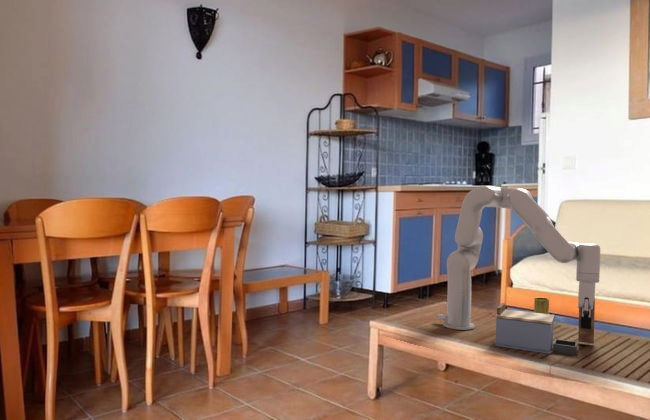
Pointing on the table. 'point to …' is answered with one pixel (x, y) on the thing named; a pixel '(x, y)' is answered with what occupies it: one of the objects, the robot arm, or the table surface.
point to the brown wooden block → (583, 333)
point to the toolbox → (524, 335)
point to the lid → (523, 315)
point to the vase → (541, 305)
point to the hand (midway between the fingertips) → (586, 326)
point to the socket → (565, 347)
